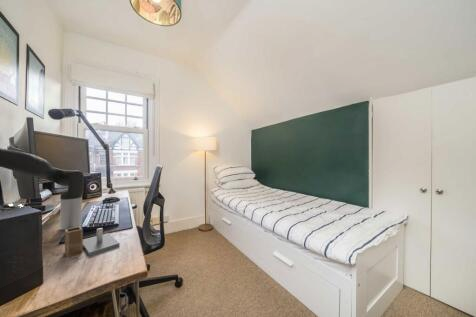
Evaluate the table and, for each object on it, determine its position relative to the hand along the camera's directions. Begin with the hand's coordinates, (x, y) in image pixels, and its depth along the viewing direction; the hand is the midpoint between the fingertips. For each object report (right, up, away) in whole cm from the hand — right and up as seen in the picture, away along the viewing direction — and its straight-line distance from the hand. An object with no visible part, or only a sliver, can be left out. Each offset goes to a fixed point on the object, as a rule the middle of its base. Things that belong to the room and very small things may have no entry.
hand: (43, 206), depth 70 cm
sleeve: (+5, -22, +7) cm, 23 cm away
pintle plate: (+11, -22, +14) cm, 28 cm away
